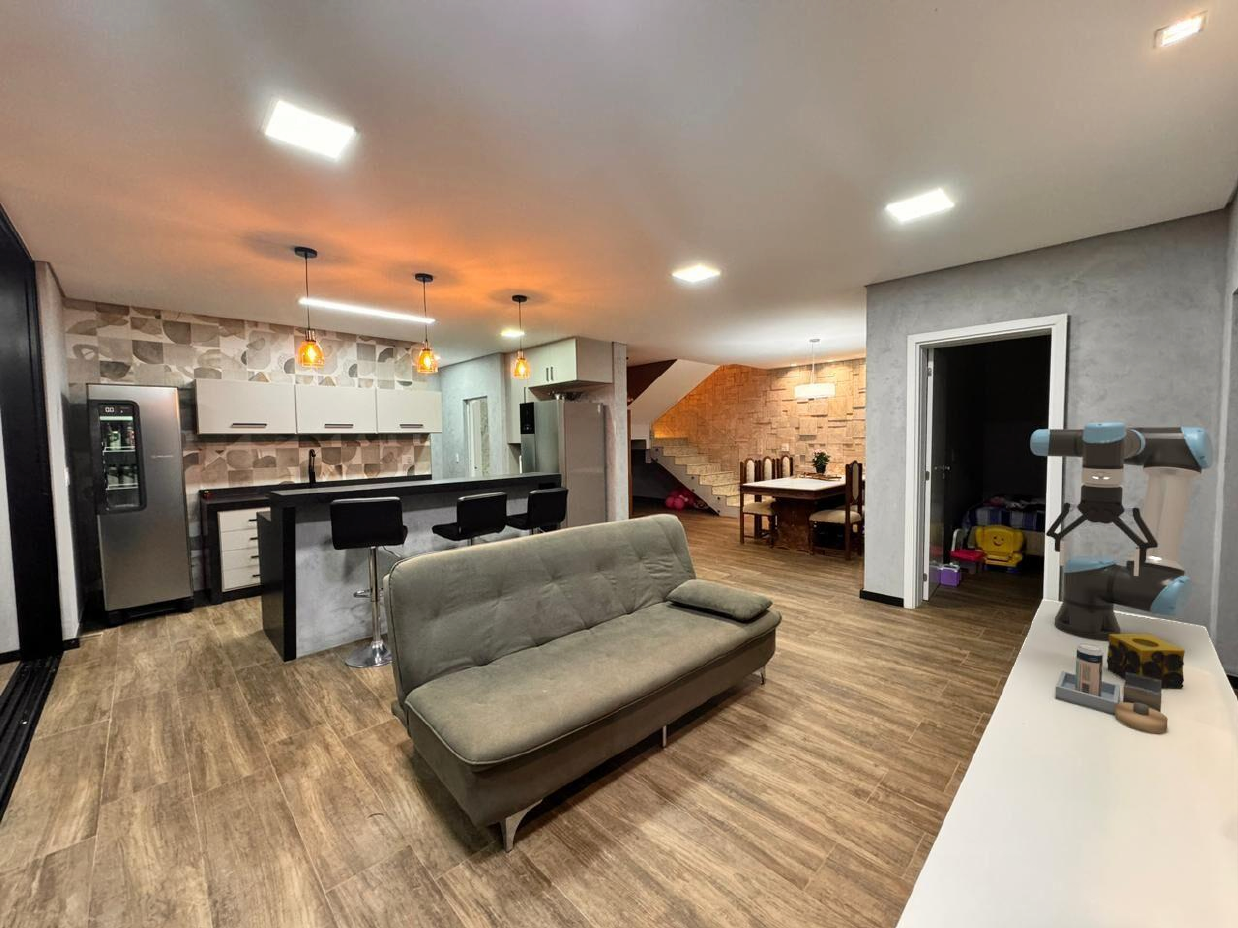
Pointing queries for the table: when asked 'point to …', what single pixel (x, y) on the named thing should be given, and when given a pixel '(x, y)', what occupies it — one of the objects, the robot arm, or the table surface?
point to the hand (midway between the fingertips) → (1097, 569)
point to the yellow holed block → (1146, 658)
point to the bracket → (1142, 690)
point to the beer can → (1089, 669)
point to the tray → (1104, 703)
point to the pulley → (1141, 717)
